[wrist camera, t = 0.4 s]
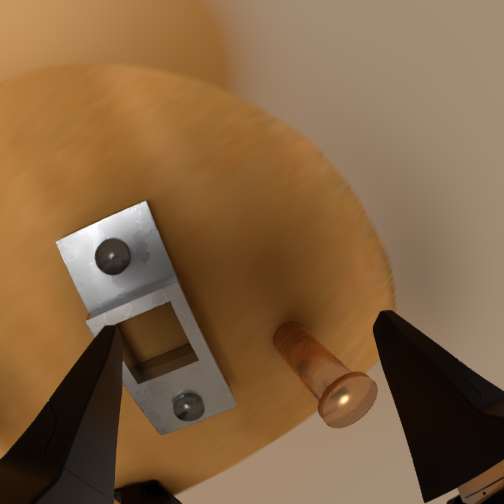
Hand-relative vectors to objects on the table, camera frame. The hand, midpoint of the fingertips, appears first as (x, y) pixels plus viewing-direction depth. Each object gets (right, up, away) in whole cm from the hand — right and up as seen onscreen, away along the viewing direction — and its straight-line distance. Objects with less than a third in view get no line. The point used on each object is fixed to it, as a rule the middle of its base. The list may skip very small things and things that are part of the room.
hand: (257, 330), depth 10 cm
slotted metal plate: (-8, -3, +13) cm, 16 cm away
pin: (+3, -5, +17) cm, 18 cm away
